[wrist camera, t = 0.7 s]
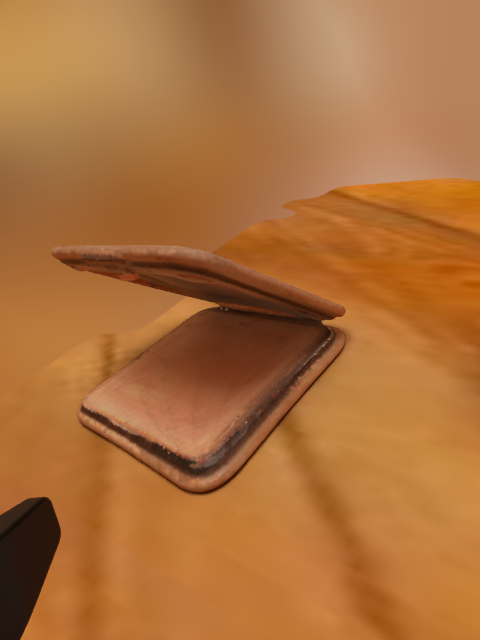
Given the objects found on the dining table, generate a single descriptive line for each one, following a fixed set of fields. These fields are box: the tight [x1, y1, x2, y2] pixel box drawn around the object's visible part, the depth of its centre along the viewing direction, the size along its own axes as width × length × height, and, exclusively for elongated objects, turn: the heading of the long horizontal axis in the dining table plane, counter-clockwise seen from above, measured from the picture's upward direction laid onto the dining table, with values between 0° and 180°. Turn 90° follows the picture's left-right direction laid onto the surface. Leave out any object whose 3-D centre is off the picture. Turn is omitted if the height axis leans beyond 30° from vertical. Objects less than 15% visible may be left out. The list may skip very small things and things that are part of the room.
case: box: [52, 245, 346, 492], centre depth 37 cm, size 20×21×16 cm
